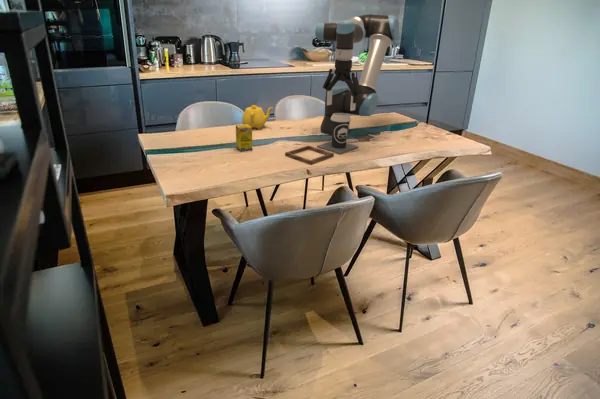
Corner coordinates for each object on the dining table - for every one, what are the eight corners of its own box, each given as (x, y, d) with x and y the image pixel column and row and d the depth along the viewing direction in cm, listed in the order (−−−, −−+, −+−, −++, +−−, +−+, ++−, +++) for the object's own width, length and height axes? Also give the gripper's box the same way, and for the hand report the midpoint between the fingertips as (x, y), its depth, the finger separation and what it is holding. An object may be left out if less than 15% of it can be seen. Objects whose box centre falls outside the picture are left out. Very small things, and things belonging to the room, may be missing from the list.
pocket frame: (285, 155, 195) (285, 152, 194) (308, 148, 205) (308, 145, 204) (310, 164, 185) (310, 161, 185) (333, 156, 196) (333, 153, 195)
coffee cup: (351, 145, 209) (354, 114, 203) (344, 150, 201) (347, 118, 195) (332, 141, 212) (334, 111, 206) (325, 147, 205) (327, 115, 198)
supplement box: (240, 151, 198) (239, 128, 193) (236, 148, 203) (235, 125, 198) (252, 150, 200) (252, 127, 196) (248, 146, 205) (247, 123, 201)
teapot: (253, 132, 226) (253, 110, 221) (236, 127, 235) (235, 105, 230) (273, 128, 235) (273, 106, 230) (256, 122, 244) (255, 101, 239)
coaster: (316, 147, 207) (317, 145, 206) (335, 141, 216) (335, 139, 216) (340, 154, 198) (340, 152, 198) (358, 148, 208) (358, 146, 207)
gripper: (316, 56, 195) (314, 103, 204) (362, 63, 180) (357, 114, 189) (327, 55, 200) (325, 101, 209) (372, 61, 185) (367, 111, 194)
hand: (340, 107), depth 199 cm, fingers open, 13 cm apart
